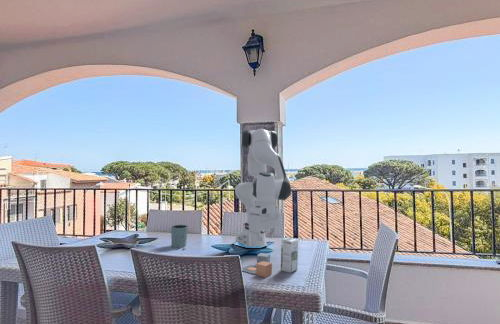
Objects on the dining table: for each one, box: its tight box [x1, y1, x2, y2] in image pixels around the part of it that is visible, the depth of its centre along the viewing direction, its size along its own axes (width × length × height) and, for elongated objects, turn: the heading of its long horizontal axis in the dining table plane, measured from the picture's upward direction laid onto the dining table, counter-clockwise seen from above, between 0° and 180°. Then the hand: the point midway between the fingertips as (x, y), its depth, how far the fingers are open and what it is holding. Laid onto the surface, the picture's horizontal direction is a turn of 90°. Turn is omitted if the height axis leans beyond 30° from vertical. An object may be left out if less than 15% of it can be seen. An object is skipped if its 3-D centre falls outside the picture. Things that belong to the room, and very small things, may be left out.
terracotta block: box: [255, 261, 273, 278], centre depth 134 cm, size 5×5×5 cm
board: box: [241, 264, 256, 275], centre depth 140 cm, size 9×9×1 cm
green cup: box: [170, 224, 189, 249], centre depth 180 cm, size 10×10×12 cm
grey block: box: [256, 252, 271, 264], centre depth 147 cm, size 5×5×5 cm
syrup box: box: [280, 237, 299, 274], centre depth 140 cm, size 6×6×14 cm
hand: (265, 239), depth 134 cm, fingers open, 8 cm apart
